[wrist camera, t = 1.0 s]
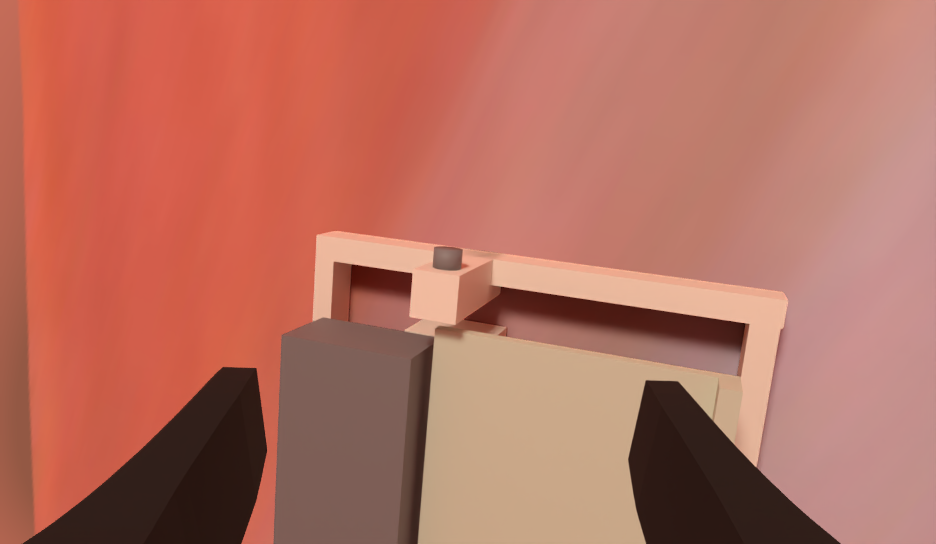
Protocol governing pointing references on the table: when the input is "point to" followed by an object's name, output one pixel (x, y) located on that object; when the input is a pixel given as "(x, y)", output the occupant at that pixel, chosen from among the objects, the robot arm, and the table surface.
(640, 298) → the frame
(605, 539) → the trapdoor
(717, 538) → the robot arm
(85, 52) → the table surface
